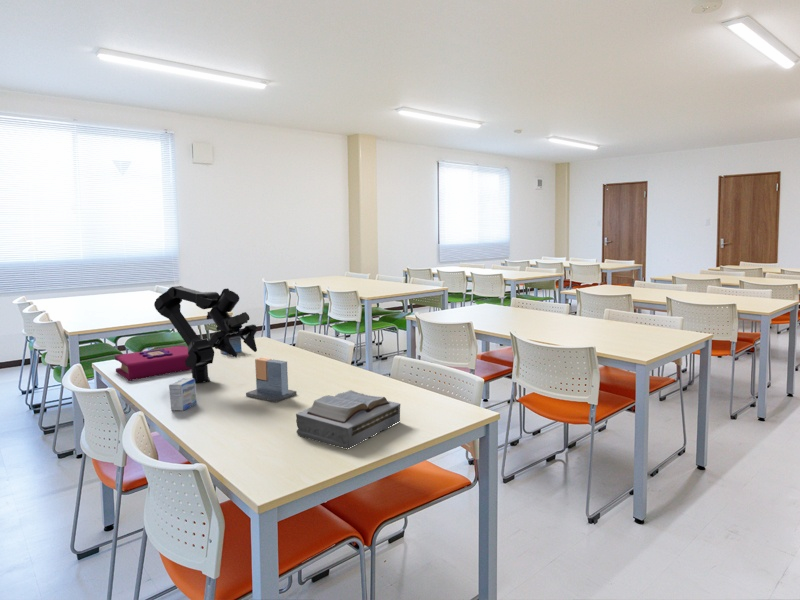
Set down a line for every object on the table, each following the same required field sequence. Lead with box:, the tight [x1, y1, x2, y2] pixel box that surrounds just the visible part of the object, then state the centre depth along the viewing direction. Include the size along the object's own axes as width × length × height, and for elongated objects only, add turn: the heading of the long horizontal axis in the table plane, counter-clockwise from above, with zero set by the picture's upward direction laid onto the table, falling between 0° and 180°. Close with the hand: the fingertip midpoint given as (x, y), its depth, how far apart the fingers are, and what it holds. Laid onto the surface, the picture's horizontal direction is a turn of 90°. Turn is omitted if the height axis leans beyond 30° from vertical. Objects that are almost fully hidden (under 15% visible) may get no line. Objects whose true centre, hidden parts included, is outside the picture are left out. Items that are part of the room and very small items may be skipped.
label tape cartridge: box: [220, 329, 243, 355], centre depth 254 cm, size 9×4×12 cm, turn 130°
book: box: [114, 345, 192, 381], centre depth 224 cm, size 21×28×8 cm
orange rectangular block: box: [254, 357, 273, 381], centre depth 188 cm, size 5×3×7 cm, turn 59°
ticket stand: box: [245, 359, 298, 403], centre depth 187 cm, size 14×10×12 cm
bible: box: [295, 389, 401, 450], centre depth 155 cm, size 23×27×10 cm
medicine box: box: [168, 377, 198, 412], centre depth 176 cm, size 8×4×9 cm, turn 168°
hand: (246, 353), depth 192 cm, fingers open, 9 cm apart
